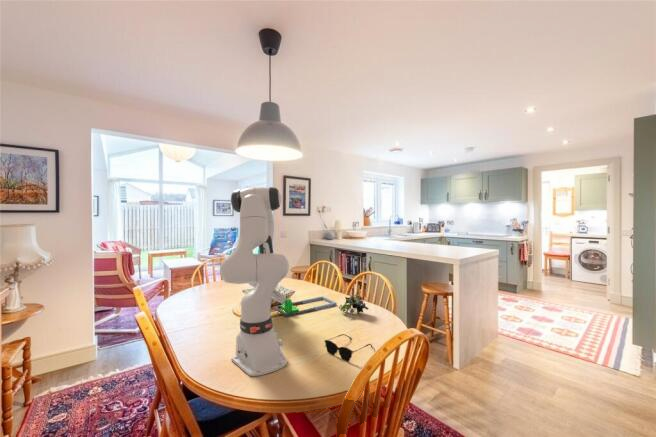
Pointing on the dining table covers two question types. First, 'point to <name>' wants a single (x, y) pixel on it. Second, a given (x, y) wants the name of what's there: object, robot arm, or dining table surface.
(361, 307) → the green leafy plant
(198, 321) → the dining table surface
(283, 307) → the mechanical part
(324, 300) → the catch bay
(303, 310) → the seat frame
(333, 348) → the sunglasses
